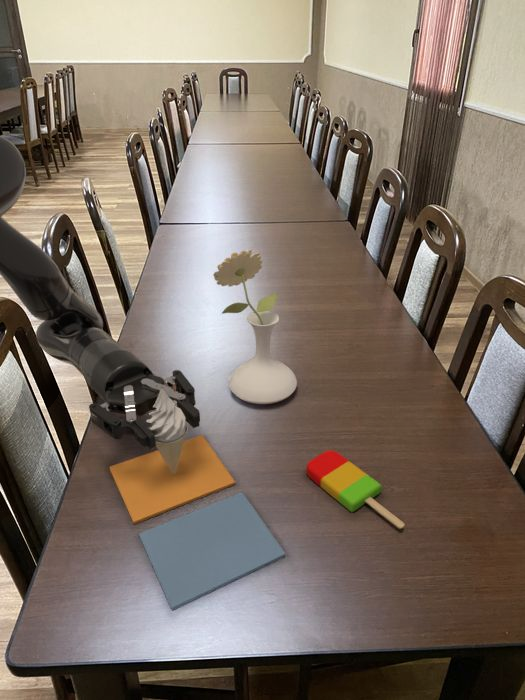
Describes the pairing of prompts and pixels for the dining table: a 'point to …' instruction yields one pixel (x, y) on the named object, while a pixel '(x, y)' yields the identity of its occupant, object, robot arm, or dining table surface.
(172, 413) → the ice cream cone
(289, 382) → the flower in vase
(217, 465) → the caramel pad
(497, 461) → the dining table surface
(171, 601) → the slate pad
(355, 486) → the popsicle
